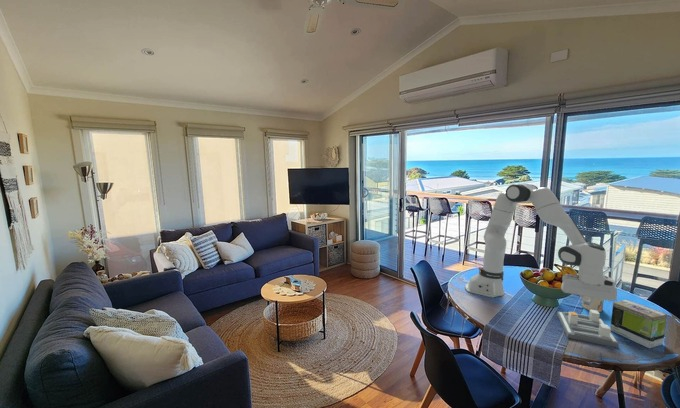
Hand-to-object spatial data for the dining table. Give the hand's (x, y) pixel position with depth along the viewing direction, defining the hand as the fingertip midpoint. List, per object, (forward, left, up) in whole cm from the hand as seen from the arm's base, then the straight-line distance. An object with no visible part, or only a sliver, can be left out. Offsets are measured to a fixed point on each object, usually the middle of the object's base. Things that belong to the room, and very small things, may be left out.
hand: (585, 304), depth 140 cm
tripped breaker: (-4, +1, -11) cm, 12 cm away
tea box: (+20, +3, -14) cm, 24 cm away
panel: (+1, +1, -13) cm, 13 cm away
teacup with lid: (+11, +29, -14) cm, 33 cm away
